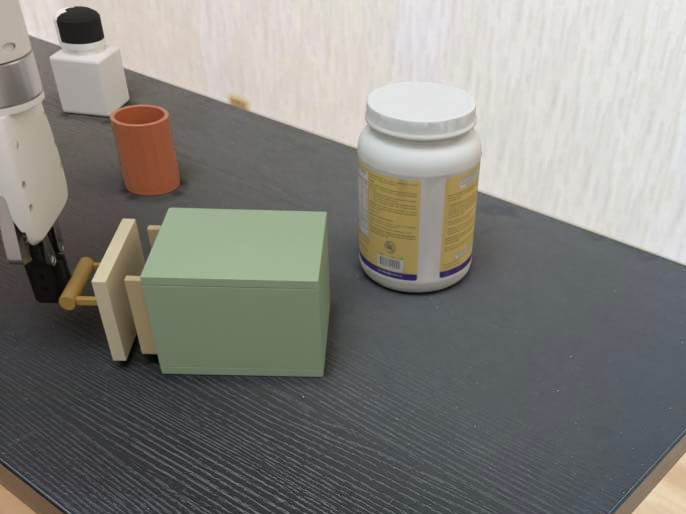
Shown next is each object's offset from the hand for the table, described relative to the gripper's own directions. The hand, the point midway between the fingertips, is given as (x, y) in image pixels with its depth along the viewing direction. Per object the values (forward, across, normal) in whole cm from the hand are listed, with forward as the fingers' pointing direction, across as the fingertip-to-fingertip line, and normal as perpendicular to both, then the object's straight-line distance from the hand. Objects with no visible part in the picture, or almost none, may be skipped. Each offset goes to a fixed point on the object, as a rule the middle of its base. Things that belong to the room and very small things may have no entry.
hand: (56, 298), depth 74 cm
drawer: (+3, 0, +10) cm, 11 cm away
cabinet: (+4, 0, +17) cm, 18 cm away
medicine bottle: (+4, -58, -12) cm, 59 cm away
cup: (+4, -33, +1) cm, 33 cm away
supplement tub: (+4, -14, +33) cm, 36 cm away
